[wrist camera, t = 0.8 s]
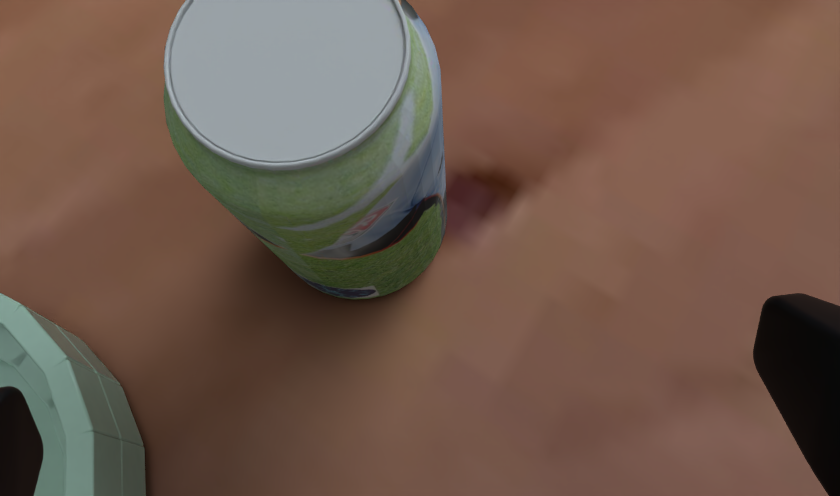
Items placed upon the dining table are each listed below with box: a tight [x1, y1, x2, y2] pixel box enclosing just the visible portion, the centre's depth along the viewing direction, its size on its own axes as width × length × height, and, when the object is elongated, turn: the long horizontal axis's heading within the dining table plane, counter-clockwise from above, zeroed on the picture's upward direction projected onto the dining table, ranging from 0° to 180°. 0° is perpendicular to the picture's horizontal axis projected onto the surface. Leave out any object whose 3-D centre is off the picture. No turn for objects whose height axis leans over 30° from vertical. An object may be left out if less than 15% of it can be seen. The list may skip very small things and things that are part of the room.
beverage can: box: [164, 0, 447, 299], centre depth 19 cm, size 6×7×12 cm
